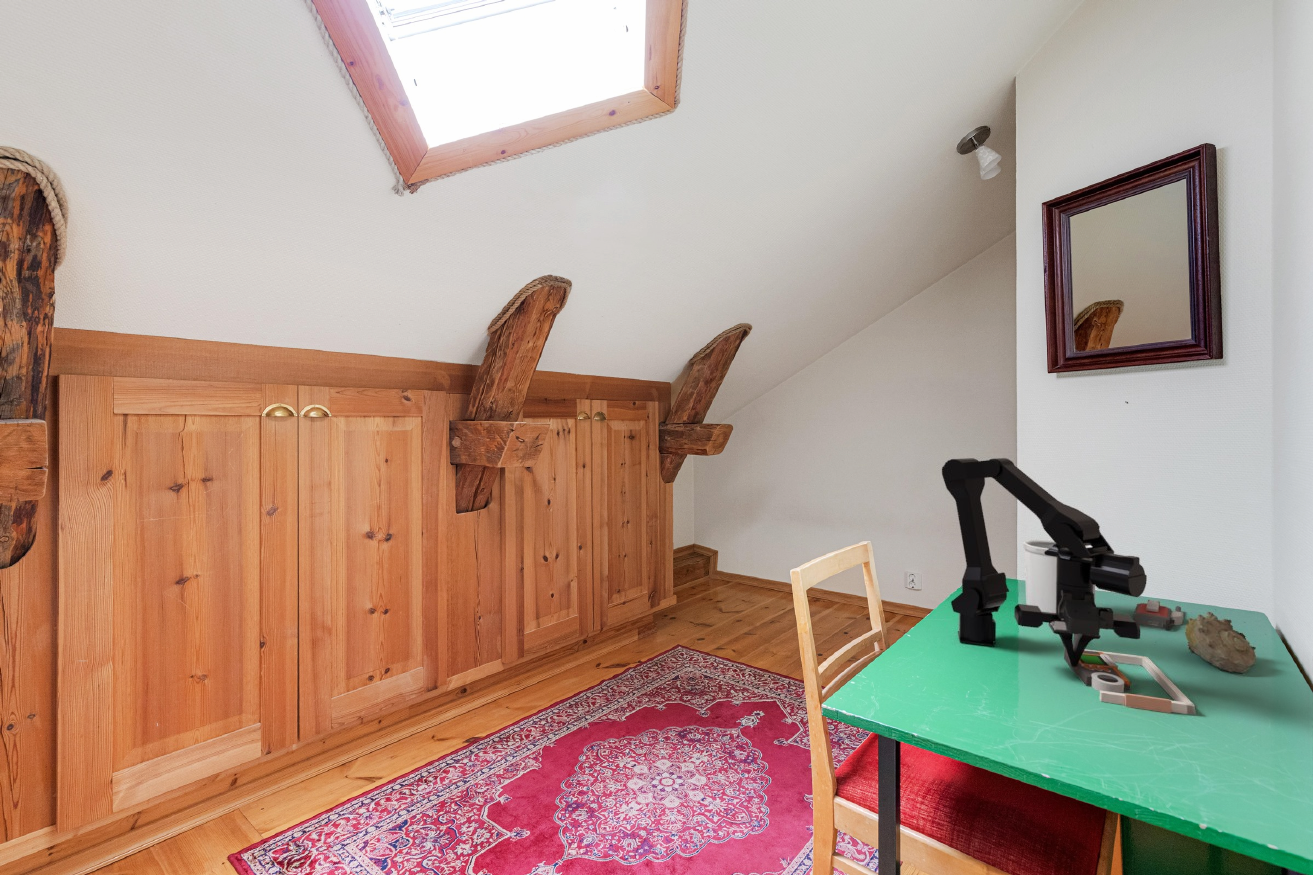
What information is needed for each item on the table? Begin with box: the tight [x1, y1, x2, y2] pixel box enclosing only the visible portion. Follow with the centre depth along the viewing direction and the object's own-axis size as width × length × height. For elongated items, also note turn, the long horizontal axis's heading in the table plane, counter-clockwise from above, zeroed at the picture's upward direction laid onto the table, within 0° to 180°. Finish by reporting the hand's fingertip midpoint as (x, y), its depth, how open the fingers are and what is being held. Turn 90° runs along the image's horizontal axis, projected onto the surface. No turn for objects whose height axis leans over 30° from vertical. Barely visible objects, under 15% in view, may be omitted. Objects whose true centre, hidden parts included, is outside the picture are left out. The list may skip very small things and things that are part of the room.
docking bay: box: [1085, 648, 1196, 716], centre depth 110 cm, size 12×23×2 cm, turn 157°
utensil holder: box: [1023, 538, 1096, 620], centre depth 147 cm, size 15×15×18 cm
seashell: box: [1184, 611, 1257, 674], centre depth 118 cm, size 11×14×10 cm
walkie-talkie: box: [1133, 599, 1184, 631], centre depth 145 cm, size 9×4×20 cm
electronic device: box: [1063, 647, 1132, 694], centre depth 112 cm, size 7×3×15 cm
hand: (1073, 666), depth 113 cm, fingers closed
